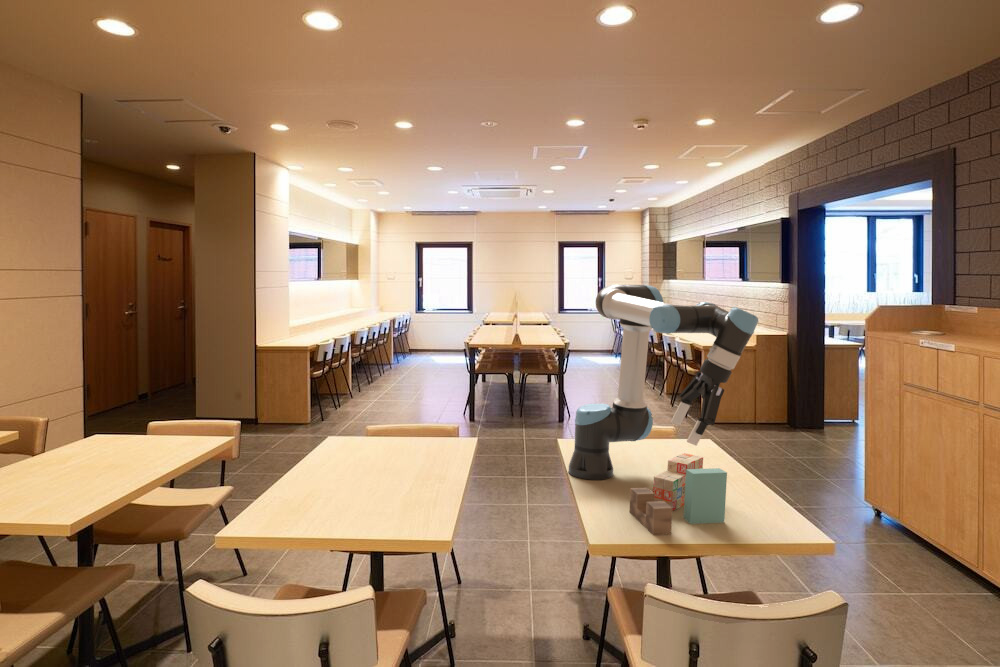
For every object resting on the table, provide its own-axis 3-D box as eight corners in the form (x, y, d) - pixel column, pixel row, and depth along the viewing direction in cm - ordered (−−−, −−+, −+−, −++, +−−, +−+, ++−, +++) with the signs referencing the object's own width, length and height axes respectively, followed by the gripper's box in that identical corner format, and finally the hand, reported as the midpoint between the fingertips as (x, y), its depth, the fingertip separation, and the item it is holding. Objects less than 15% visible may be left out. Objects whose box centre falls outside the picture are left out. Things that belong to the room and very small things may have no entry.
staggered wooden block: (629, 512, 175) (630, 488, 174) (646, 511, 176) (647, 487, 175) (653, 535, 159) (654, 508, 159) (671, 534, 160) (672, 507, 159)
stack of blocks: (671, 513, 175) (673, 470, 174) (651, 507, 179) (653, 466, 178) (701, 494, 192) (703, 456, 191) (682, 490, 196) (684, 452, 195)
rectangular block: (683, 518, 171) (686, 469, 170) (716, 516, 173) (719, 468, 172) (690, 523, 167) (693, 473, 166) (724, 522, 169) (727, 472, 168)
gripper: (690, 346, 175) (657, 411, 179) (725, 372, 151) (686, 447, 155) (713, 356, 176) (680, 421, 180) (752, 384, 151) (712, 457, 156)
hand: (682, 433), depth 167 cm, fingers open, 13 cm apart
